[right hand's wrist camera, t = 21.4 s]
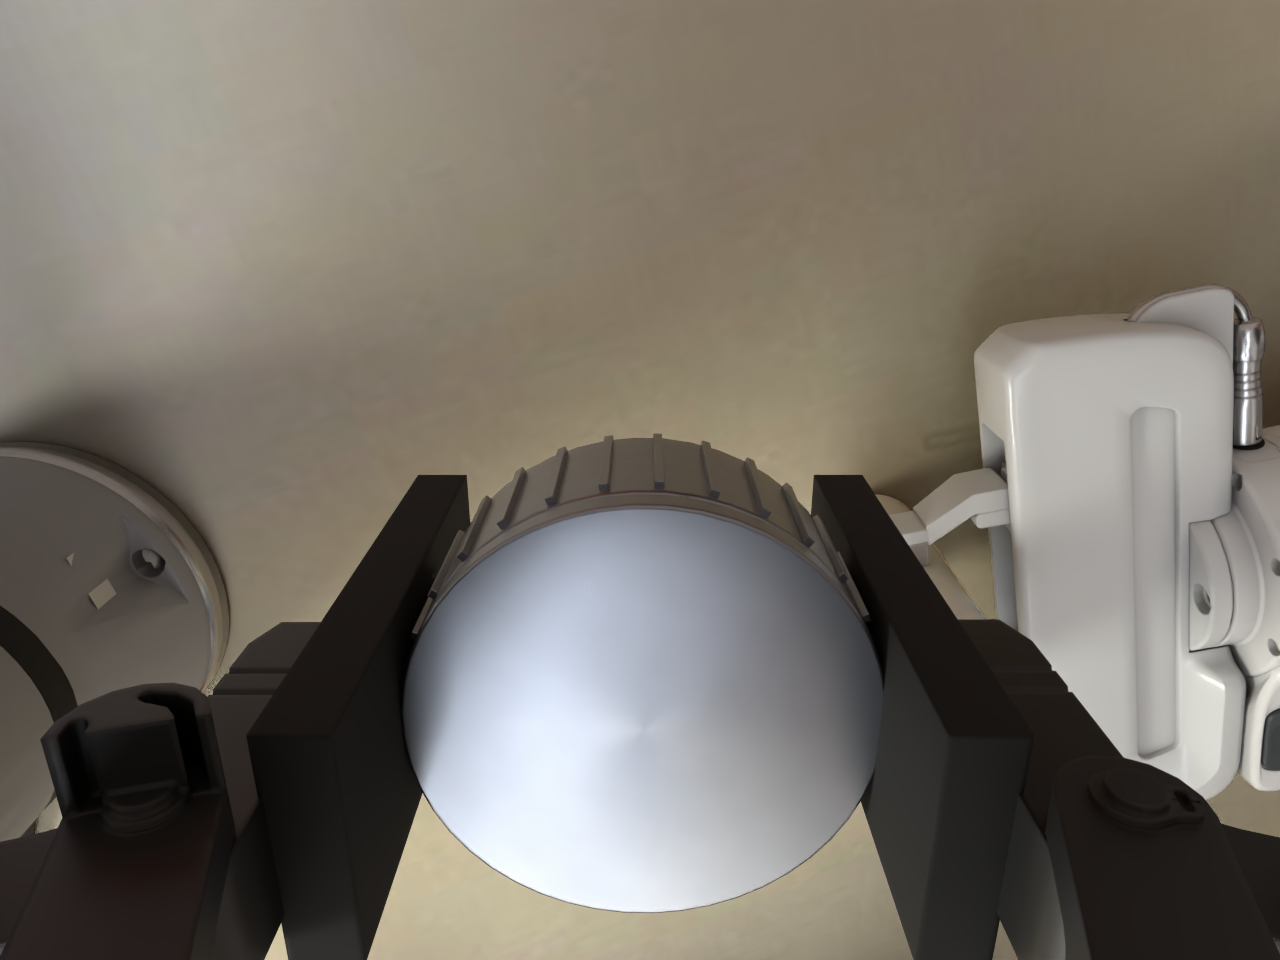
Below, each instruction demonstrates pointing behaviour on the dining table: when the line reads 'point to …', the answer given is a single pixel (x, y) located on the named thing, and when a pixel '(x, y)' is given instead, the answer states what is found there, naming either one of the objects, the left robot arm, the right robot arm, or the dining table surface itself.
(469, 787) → the lid
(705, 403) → the dining table surface
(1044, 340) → the left robot arm
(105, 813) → the right robot arm
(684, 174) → the dining table surface
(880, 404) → the dining table surface
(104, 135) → the dining table surface
